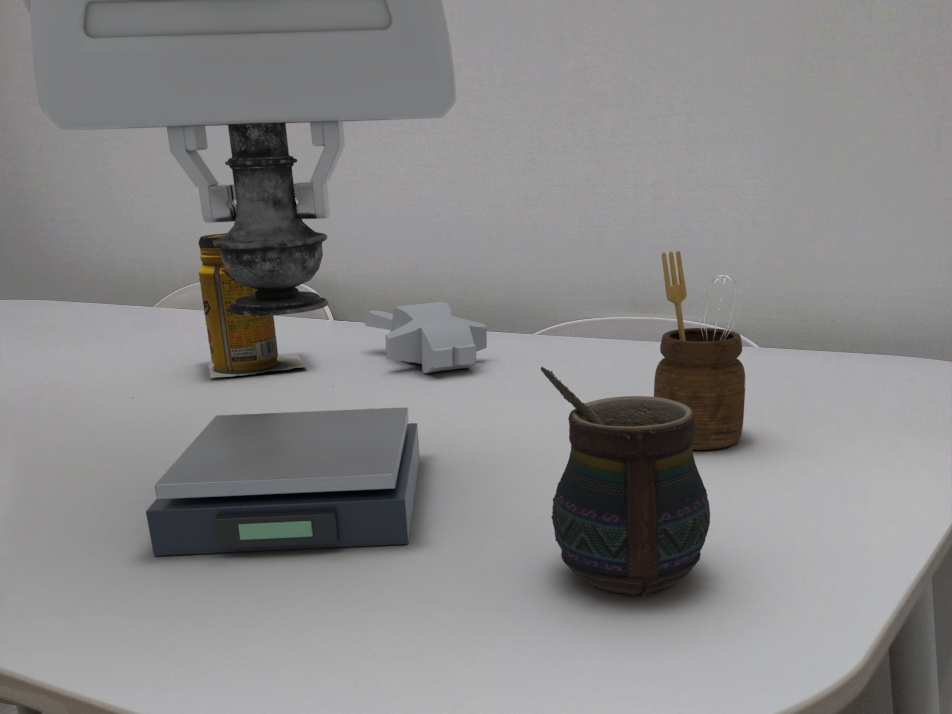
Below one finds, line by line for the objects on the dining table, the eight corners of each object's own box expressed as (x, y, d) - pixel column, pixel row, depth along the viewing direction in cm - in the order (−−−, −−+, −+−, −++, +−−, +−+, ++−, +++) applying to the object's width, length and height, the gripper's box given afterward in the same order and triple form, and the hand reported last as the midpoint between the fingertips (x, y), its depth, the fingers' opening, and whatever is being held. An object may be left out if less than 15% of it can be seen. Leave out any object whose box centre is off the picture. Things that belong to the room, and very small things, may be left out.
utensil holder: (694, 458, 61) (702, 264, 57) (632, 435, 66) (634, 255, 62) (761, 441, 64) (774, 255, 60) (696, 420, 69) (703, 247, 65)
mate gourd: (727, 605, 42) (740, 381, 39) (556, 616, 42) (552, 390, 38) (687, 541, 49) (694, 345, 45) (538, 550, 49) (533, 352, 45)
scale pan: (156, 499, 49) (154, 485, 49) (217, 427, 61) (215, 415, 61) (395, 489, 49) (394, 474, 49) (408, 419, 61) (407, 407, 61)
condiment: (207, 364, 92) (187, 233, 88) (297, 355, 95) (282, 227, 90) (211, 380, 86) (190, 240, 81) (307, 370, 88) (292, 234, 84)
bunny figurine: (402, 336, 81) (352, 292, 93) (404, 394, 83) (355, 343, 95) (506, 324, 84) (445, 283, 96) (505, 380, 87) (445, 333, 99)
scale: (148, 562, 49) (140, 516, 48) (218, 468, 62) (212, 431, 61) (407, 550, 49) (404, 504, 48) (419, 459, 63) (417, 422, 62)
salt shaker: (198, 311, 51) (161, 63, 47) (281, 295, 56) (254, 67, 52) (275, 320, 48) (242, 54, 44) (356, 302, 53) (334, 59, 48)
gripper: (-25, -97, 42) (41, 233, 47) (445, -109, 43) (461, 217, 48) (35, -68, 48) (88, 222, 53) (448, -79, 49) (461, 208, 54)
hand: (268, 220), depth 50 cm, fingers closed on salt shaker, 3 cm apart
